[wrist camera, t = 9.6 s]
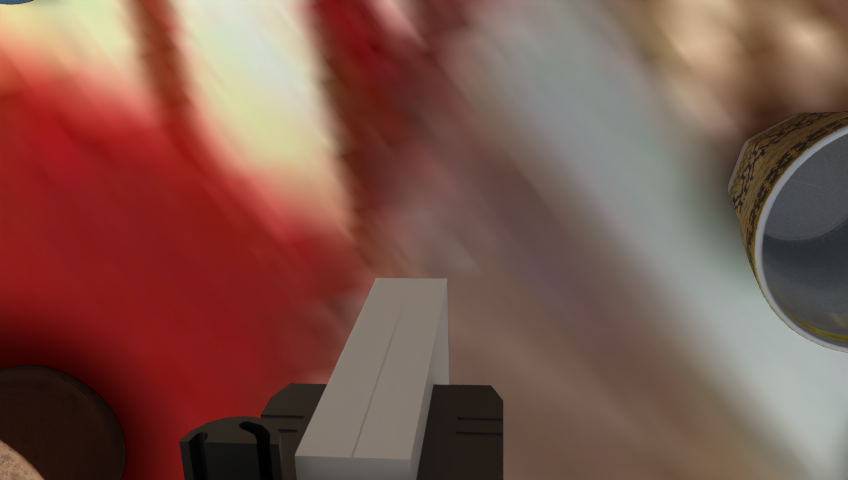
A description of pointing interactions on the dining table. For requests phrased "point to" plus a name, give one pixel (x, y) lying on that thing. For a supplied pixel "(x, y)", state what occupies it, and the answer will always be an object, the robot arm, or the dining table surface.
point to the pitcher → (56, 428)
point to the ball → (14, 1)
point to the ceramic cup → (798, 221)
